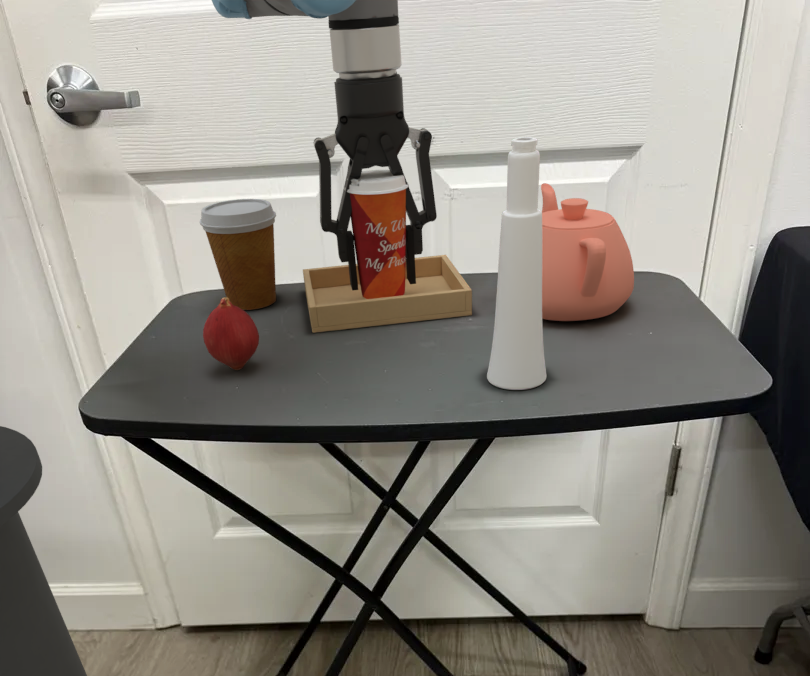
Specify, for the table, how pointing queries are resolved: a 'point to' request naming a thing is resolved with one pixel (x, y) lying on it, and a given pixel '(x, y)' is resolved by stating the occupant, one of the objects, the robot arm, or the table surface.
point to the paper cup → (379, 232)
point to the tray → (425, 300)
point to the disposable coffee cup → (243, 249)
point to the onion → (230, 335)
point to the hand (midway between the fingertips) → (382, 283)
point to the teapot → (582, 261)
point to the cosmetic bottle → (519, 277)
